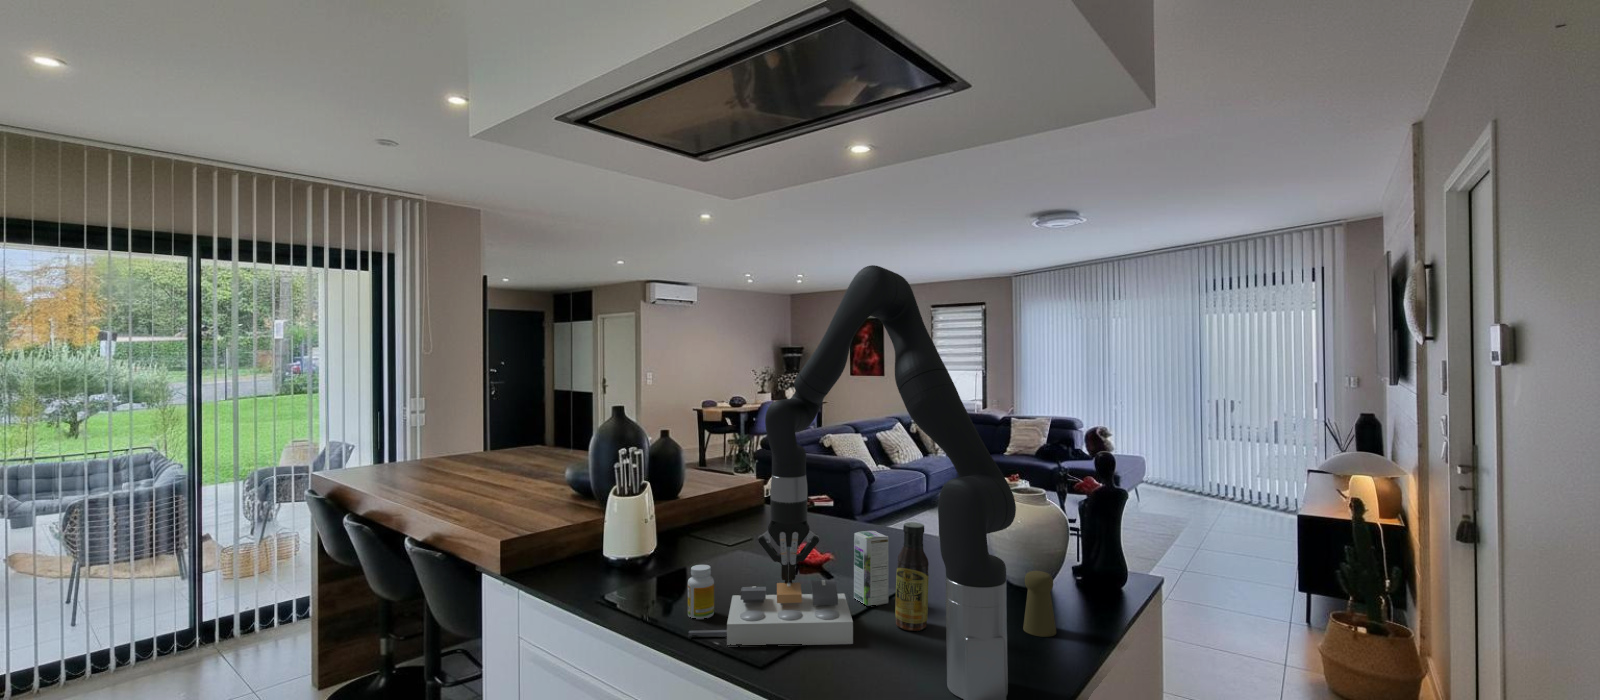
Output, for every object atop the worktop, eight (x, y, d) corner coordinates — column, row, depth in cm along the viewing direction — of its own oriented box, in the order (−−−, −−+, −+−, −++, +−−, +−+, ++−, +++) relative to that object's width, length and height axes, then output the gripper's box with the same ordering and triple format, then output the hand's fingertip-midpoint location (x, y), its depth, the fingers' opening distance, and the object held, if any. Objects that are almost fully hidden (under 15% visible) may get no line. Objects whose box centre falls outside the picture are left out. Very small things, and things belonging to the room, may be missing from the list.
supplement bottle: (719, 613, 134) (719, 566, 134) (701, 622, 129) (701, 572, 130) (700, 608, 137) (700, 561, 137) (682, 616, 132) (682, 568, 133)
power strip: (853, 643, 119) (852, 620, 119) (685, 647, 118) (685, 623, 118) (844, 613, 134) (844, 592, 134) (695, 615, 133) (695, 594, 133)
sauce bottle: (890, 629, 125) (889, 525, 126) (901, 618, 131) (900, 519, 132) (923, 635, 122) (922, 529, 123) (933, 623, 128) (932, 522, 128)
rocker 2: (801, 607, 125) (801, 593, 125) (776, 607, 125) (776, 594, 125) (800, 594, 132) (800, 582, 132) (776, 595, 132) (776, 582, 132)
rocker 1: (765, 604, 125) (765, 589, 125) (740, 604, 125) (740, 590, 125) (766, 599, 131) (766, 586, 132) (742, 600, 131) (742, 586, 132)
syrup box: (852, 599, 142) (852, 532, 142) (876, 595, 144) (875, 529, 145) (866, 607, 137) (865, 538, 137) (890, 603, 139) (889, 535, 139)
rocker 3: (837, 609, 126) (837, 596, 125) (813, 609, 126) (813, 597, 125) (834, 591, 132) (835, 579, 132) (811, 591, 132) (811, 579, 131)
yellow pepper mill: (1059, 637, 121) (1058, 578, 121) (1025, 635, 122) (1024, 576, 122) (1053, 625, 127) (1052, 568, 127) (1021, 623, 128) (1020, 566, 128)
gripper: (755, 501, 128) (755, 588, 128) (822, 500, 129) (822, 588, 129) (757, 492, 136) (756, 575, 136) (820, 492, 136) (819, 575, 136)
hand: (788, 581), depth 132 cm, fingers closed
